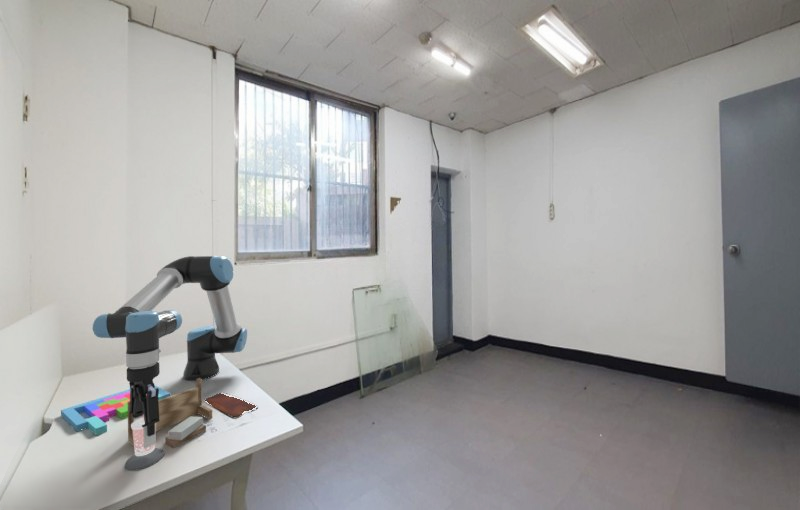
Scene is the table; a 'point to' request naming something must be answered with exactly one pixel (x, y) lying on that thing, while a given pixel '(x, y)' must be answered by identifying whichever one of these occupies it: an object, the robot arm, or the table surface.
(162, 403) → the rack
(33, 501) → the table surface
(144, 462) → the coaster
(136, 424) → the beverage cup
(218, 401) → the wooden tablet
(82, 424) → the tetris game
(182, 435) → the offcut upper
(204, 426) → the offcut lower
